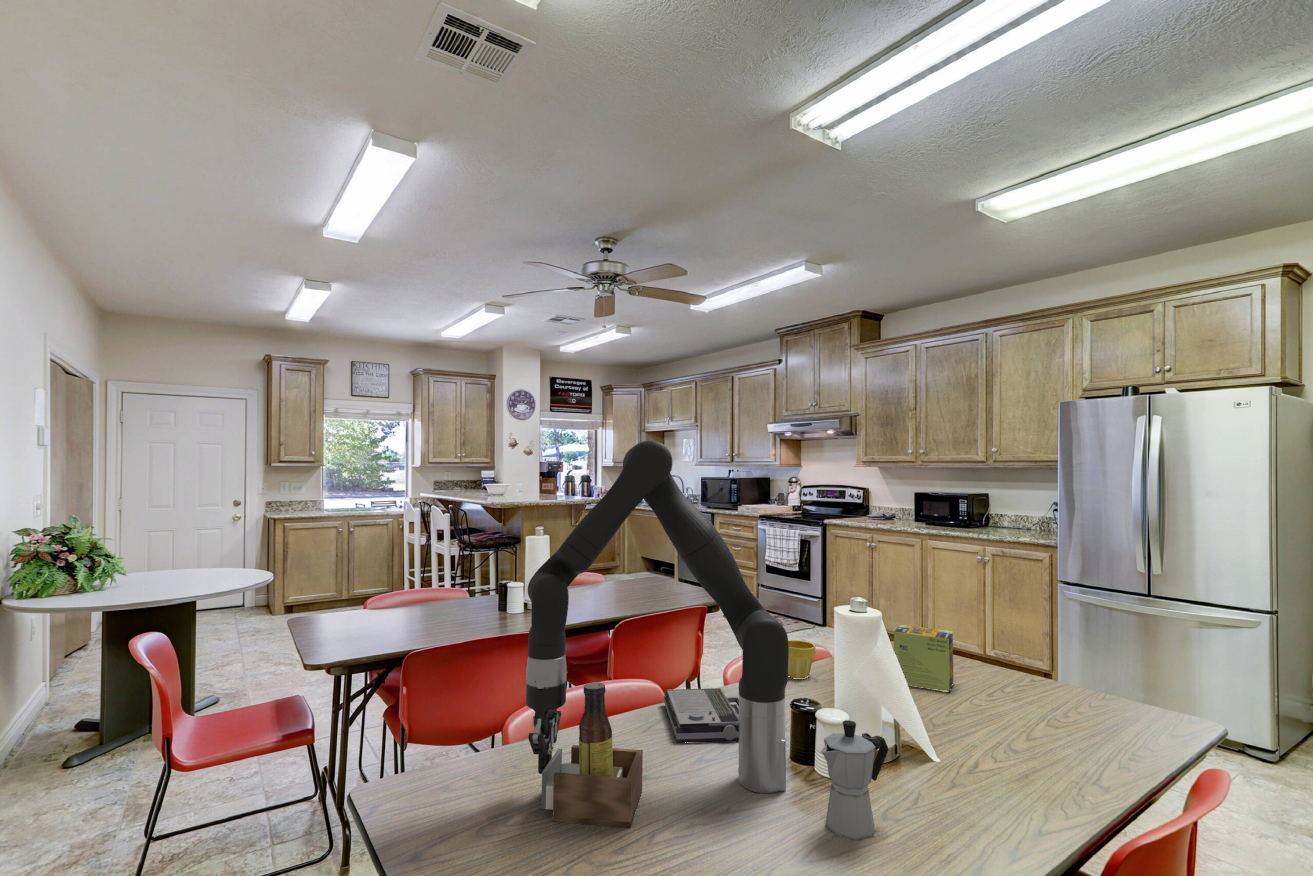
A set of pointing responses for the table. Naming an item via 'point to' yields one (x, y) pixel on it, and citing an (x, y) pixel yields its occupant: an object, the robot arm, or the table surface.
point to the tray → (560, 767)
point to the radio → (702, 715)
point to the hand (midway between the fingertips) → (544, 772)
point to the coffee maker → (852, 780)
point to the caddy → (600, 792)
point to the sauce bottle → (595, 734)
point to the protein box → (925, 656)
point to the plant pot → (800, 658)
